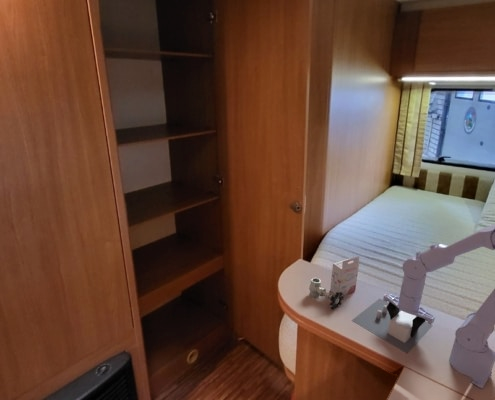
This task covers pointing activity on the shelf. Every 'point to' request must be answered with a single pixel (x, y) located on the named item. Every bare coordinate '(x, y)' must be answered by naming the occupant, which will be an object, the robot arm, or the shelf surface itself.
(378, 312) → the board
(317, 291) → the valve
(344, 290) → the ink cartridge box
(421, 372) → the shelf surface
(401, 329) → the block
